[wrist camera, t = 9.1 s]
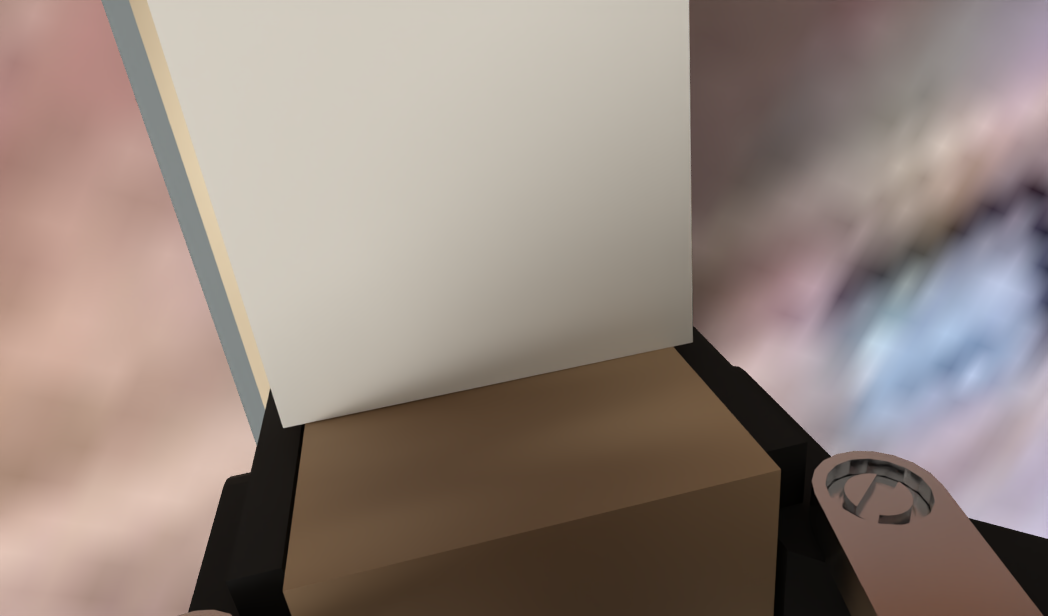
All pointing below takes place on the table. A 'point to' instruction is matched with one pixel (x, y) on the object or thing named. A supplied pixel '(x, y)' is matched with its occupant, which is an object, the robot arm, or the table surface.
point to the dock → (184, 203)
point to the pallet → (521, 485)
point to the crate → (441, 185)
